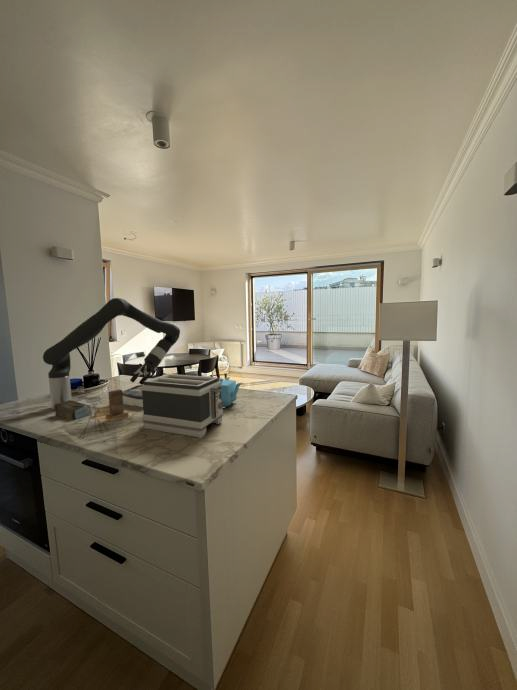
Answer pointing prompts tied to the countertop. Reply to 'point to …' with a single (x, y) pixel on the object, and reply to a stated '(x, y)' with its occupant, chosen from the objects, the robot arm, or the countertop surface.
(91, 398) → the countertop surface
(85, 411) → the beverage carton
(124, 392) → the food packaging
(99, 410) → the oak rack
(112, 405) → the brown wooden block
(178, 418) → the toaster
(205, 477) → the countertop surface
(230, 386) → the teakettle
